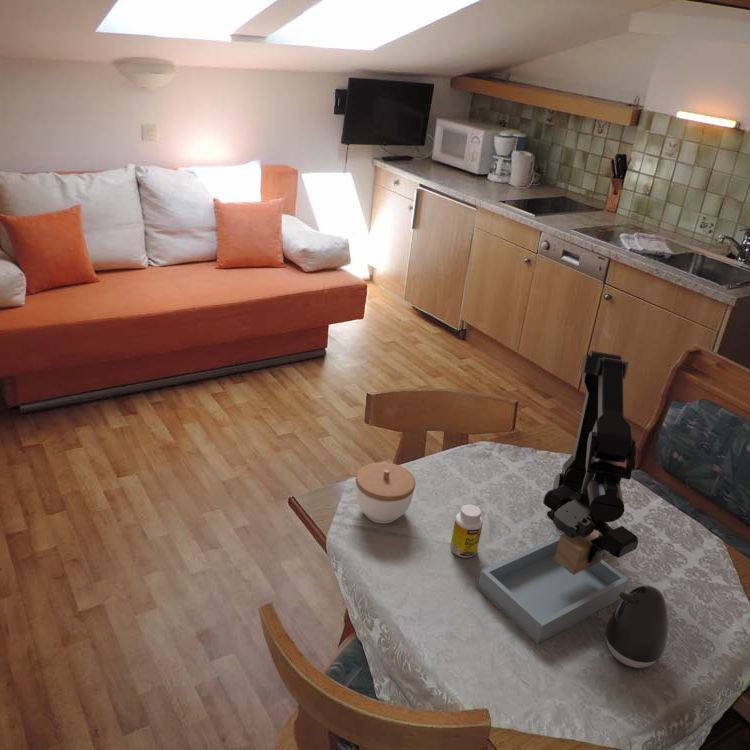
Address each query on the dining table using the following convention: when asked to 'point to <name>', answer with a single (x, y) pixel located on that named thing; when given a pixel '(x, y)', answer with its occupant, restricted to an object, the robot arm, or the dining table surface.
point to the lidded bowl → (384, 491)
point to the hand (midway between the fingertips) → (579, 554)
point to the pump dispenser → (639, 627)
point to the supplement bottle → (466, 531)
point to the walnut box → (576, 552)
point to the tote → (549, 590)
